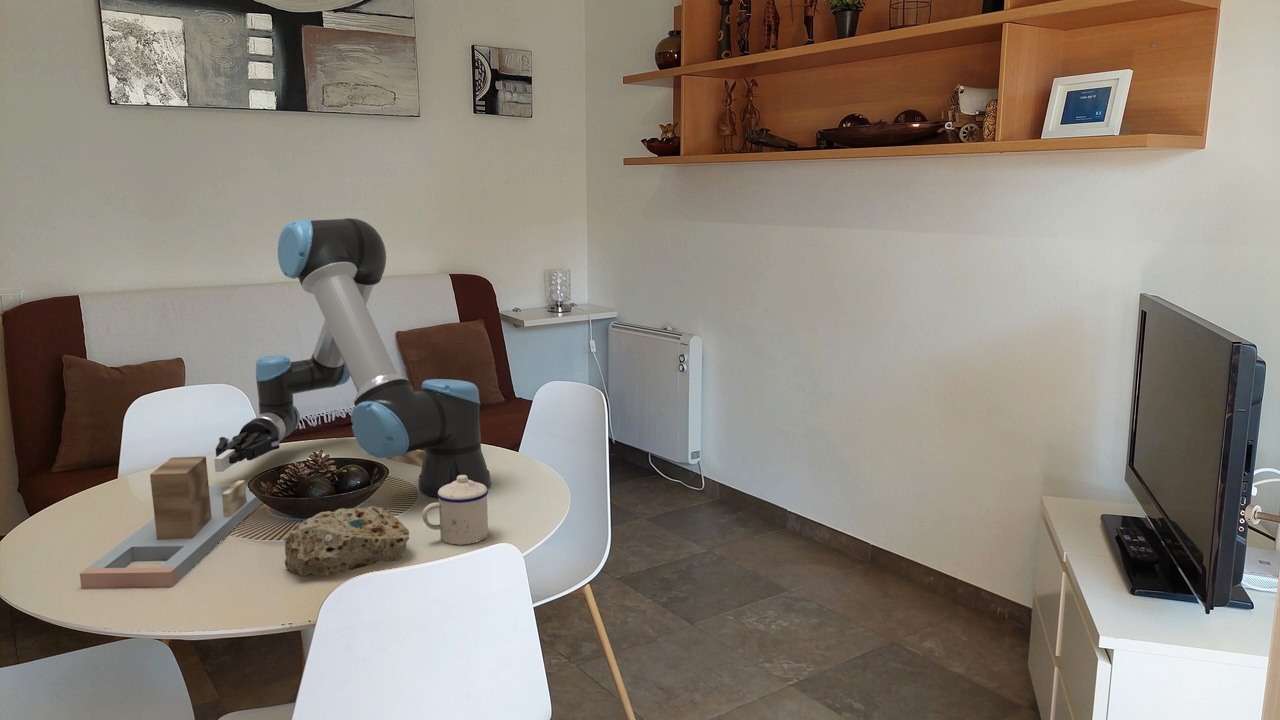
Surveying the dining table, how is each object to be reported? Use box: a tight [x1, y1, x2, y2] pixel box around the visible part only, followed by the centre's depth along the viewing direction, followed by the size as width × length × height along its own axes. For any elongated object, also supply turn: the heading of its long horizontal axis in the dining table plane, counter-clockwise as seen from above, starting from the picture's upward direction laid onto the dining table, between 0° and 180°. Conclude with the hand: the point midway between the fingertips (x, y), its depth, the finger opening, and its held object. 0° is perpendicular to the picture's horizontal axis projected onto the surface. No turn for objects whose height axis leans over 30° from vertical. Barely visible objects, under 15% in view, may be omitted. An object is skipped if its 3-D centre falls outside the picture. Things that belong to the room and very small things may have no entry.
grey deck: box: [79, 485, 263, 589], centre depth 170 cm, size 43×14×2 cm, turn 2°
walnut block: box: [149, 456, 212, 540], centre depth 166 cm, size 10×6×12 cm, turn 7°
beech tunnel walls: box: [222, 480, 247, 517], centre depth 176 cm, size 8×13×4 cm, turn 92°
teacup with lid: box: [422, 475, 489, 546], centre depth 168 cm, size 12×9×12 cm
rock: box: [284, 506, 410, 577], centre depth 159 cm, size 21×14×10 cm
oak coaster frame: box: [386, 450, 425, 467], centre depth 221 cm, size 14×16×4 cm
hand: (218, 465), depth 184 cm, fingers closed
